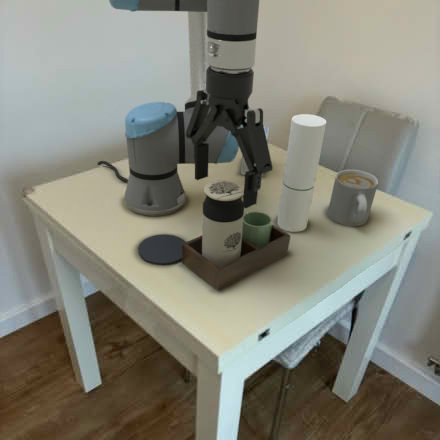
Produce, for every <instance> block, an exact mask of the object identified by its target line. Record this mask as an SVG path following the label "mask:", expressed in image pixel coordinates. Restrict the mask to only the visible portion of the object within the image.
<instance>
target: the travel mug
mask: <svg viewBox="0 0 440 440" xmlns="http://www.w3.org/2000/svg"><path fill="white" fill-rule="evenodd" d="M203 191H204V194H205V196H206V197H205V198H204V200H203V202H202V224H201V225H202V230H201V231H202V232H201V236H202V256H204V257H205V258H207V259H208V260H209V261H211V262H212V263H213V264H215V265H216V266H217V267H221V266H223V265H226V264H228V263H230V262H232V261H234V260H236V259H238V258H240V254H241V242H242V229H243V217H244V214H245V208H244V207H243V195H244V186H242V184H239V183H238V182H236V181H232V180H228V179H227V180H225V179H221V180H220V179H219V180H214V181H210V182H209V183H207V184H206V185H205V186H204V189H203Z"/></svg>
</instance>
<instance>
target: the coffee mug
mask: <svg viewBox="0 0 440 440" xmlns="http://www.w3.org/2000/svg"><path fill="white" fill-rule="evenodd" d="M378 184H379V181H378V178H377V177H376V176H375V175H373V174H372V173H370V172H367V171H363V170H359V169H344V170H340V171H338V172H337V173H336V174H335V178H334V182H333V187H332V192H331V196H330V201H329V205H328V209H327V215H328V218H330V219H331V220H332V221H334V222H335V223H337V224H340V225H344V226H348V227H358V226H363V225H365V224H366V223H367V222H368V220H369V217H370V213H371V209H372V207H373V202H374V199H375V195H376V192H377V189H378V186H379V185H378Z"/></svg>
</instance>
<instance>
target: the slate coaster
mask: <svg viewBox="0 0 440 440" xmlns="http://www.w3.org/2000/svg"><path fill="white" fill-rule="evenodd" d="M185 242H187V241H186V240H185V239H184V238H182V237H180V236H177V235H174V234H167V233H165V234H162V233H161V234H155V235H152V236H149V237H146V238H145V239H143V240H142V241H141V242H140V243H139V245H138V247H137V253H138V255H139V257H140V259H142V260H143V261H144V262H146V263H148V264H152V265H157V266H168V265H169V266H170V265H174V264H176V263H177V264H178V263H179V262H181V261H182V244H183V243H185Z"/></svg>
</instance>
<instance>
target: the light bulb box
mask: <svg viewBox="0 0 440 440" xmlns="http://www.w3.org/2000/svg"><path fill="white" fill-rule="evenodd" d="M263 126H264V130H265V135H266V140H267V144H268V143H269V137H270V136H269V135H270V126H267V125H263ZM240 166H241V167H240V175H241V176H242V175H243V176H245V172H247V171H249V170H248V167H247V165H246V162H245V160H244V157H243V155H242V154H241V165H240ZM254 166H256V164H255V163H254ZM263 177H264V174H262V178H263Z"/></svg>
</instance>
